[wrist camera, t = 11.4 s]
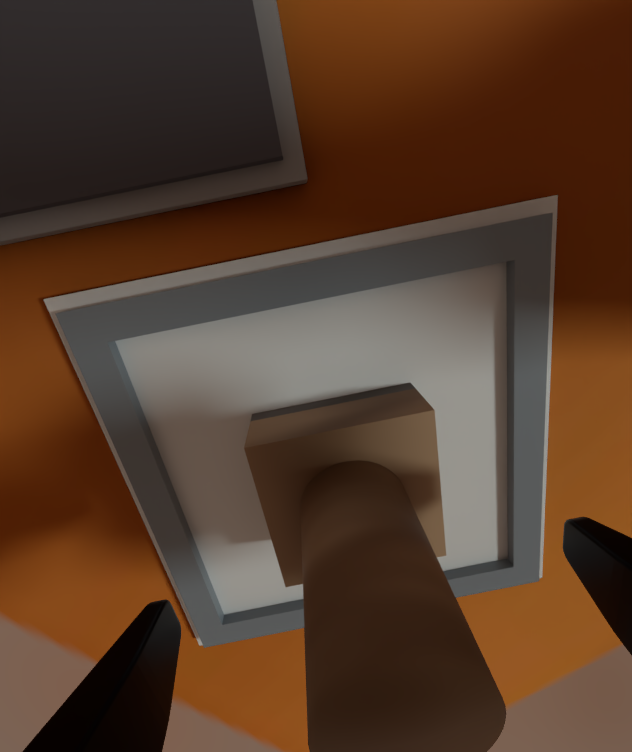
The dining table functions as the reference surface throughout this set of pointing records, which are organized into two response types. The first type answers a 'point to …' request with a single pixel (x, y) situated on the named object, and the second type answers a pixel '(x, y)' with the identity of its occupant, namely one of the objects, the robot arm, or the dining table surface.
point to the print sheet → (327, 393)
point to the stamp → (372, 574)
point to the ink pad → (139, 110)
